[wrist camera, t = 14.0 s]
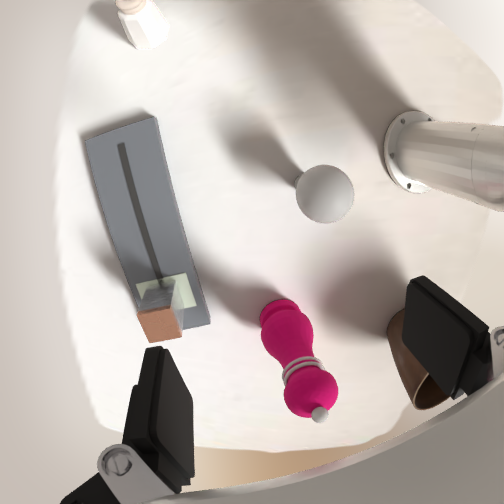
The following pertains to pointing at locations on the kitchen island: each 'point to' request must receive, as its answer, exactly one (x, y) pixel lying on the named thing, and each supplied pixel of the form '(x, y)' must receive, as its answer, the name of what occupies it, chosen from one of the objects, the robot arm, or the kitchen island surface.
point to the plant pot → (413, 370)
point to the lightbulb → (324, 193)
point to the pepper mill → (297, 360)
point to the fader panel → (145, 214)
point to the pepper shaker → (142, 23)
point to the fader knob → (162, 312)
